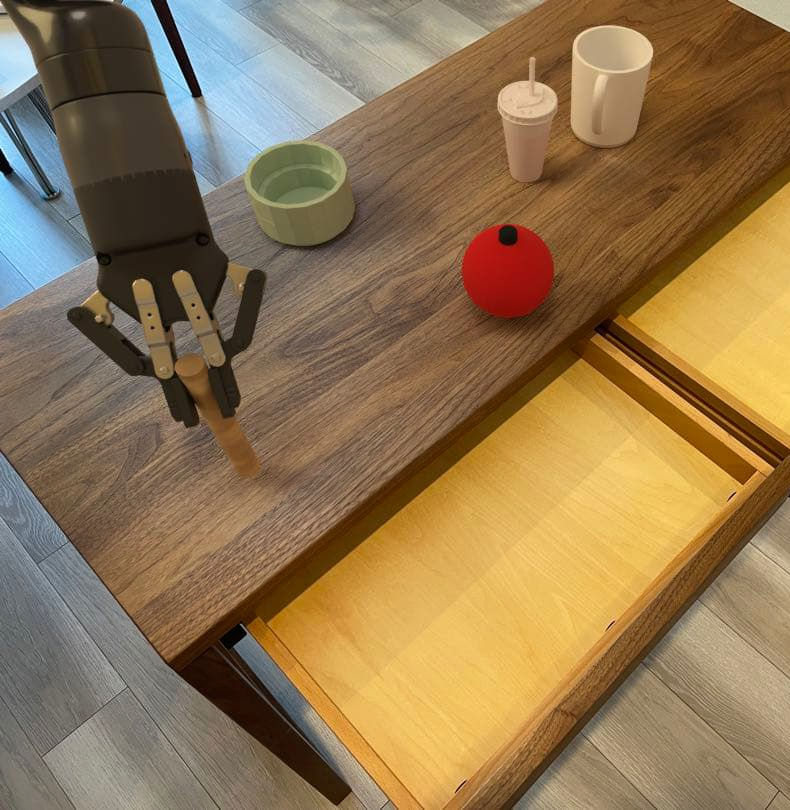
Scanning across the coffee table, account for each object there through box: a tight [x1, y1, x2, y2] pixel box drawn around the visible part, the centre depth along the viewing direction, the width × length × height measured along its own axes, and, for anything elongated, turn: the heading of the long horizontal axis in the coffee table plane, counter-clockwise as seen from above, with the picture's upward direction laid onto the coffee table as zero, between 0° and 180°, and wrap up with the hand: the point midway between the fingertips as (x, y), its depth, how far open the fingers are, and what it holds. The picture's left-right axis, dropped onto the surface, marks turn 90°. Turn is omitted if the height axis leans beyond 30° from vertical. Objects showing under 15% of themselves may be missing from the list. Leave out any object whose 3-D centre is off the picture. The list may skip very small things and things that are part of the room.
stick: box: [175, 352, 261, 479], centre depth 60 cm, size 2×2×15 cm
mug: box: [570, 24, 654, 149], centre depth 90 cm, size 11×9×10 cm
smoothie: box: [496, 56, 559, 183], centre depth 84 cm, size 6×6×14 cm
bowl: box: [243, 139, 356, 247], centre depth 82 cm, size 10×10×6 cm
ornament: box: [461, 223, 555, 319], centre depth 75 cm, size 9×9×10 cm
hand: (211, 419), depth 56 cm, fingers closed on stick, 2 cm apart
